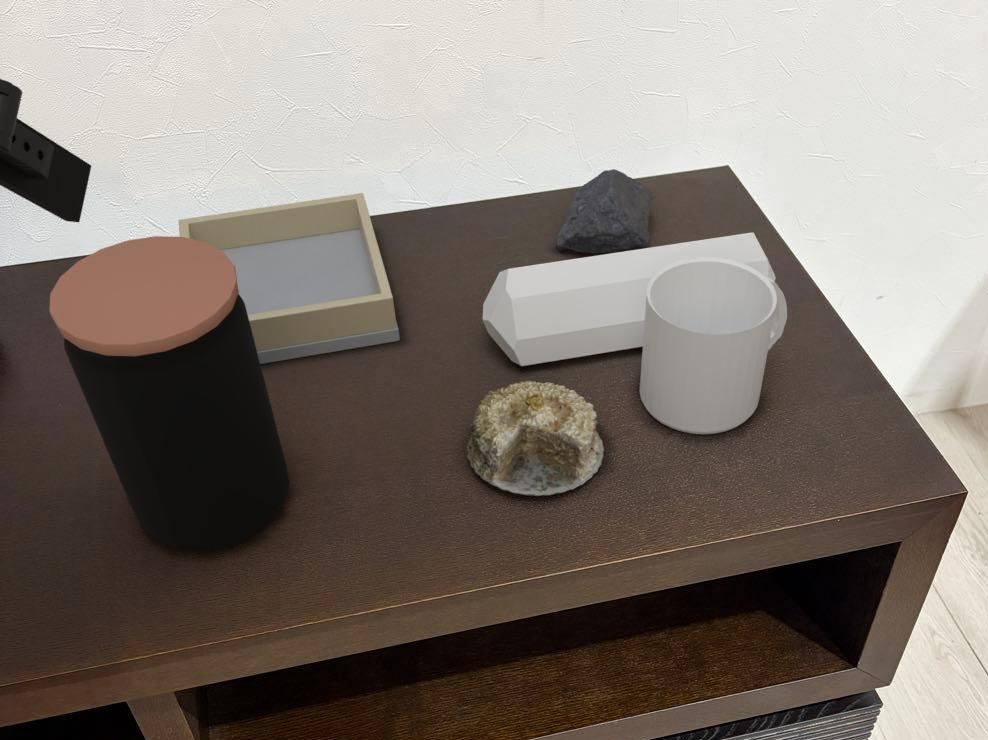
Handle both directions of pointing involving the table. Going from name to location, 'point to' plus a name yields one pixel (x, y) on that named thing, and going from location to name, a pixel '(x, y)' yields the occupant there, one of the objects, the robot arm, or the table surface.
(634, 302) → the crystal
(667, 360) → the mug
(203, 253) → the coffee jar
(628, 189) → the rock
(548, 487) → the cake
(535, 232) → the table surface
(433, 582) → the table surface
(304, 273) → the shallow square crate
